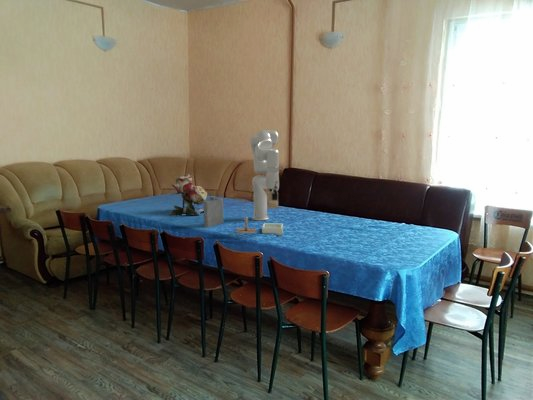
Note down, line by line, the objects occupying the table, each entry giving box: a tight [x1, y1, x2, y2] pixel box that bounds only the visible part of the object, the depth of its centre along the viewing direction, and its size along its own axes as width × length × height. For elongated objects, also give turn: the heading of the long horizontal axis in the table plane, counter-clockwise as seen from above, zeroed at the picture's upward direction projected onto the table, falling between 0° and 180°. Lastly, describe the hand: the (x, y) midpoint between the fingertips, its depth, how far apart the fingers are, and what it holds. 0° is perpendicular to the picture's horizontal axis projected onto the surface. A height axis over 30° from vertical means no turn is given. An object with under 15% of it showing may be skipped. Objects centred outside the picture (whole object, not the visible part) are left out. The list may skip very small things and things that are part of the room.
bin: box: [261, 222, 284, 237], centre depth 275 cm, size 12×12×5 cm
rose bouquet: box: [168, 173, 208, 216], centre depth 337 cm, size 26×29×30 cm
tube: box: [266, 191, 279, 210], centre depth 271 cm, size 5×5×10 cm
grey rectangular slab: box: [203, 195, 224, 228], centre depth 296 cm, size 16×4×20 cm, turn 136°
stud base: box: [234, 216, 257, 234], centre depth 276 cm, size 12×12×10 cm
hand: (272, 198), depth 271 cm, fingers closed on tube, 5 cm apart
